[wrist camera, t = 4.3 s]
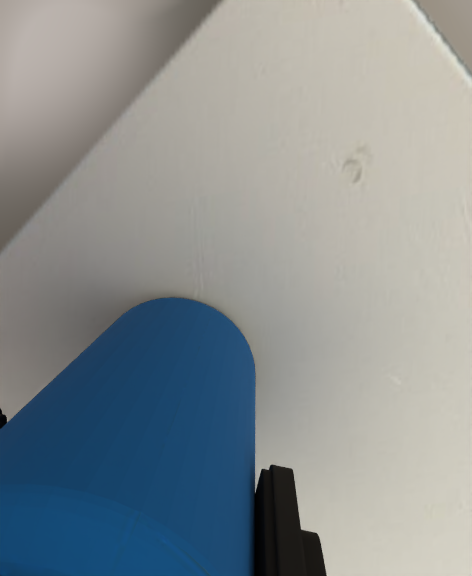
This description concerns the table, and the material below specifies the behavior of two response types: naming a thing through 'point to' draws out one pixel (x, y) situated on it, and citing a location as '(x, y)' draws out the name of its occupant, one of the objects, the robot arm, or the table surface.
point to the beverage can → (137, 454)
